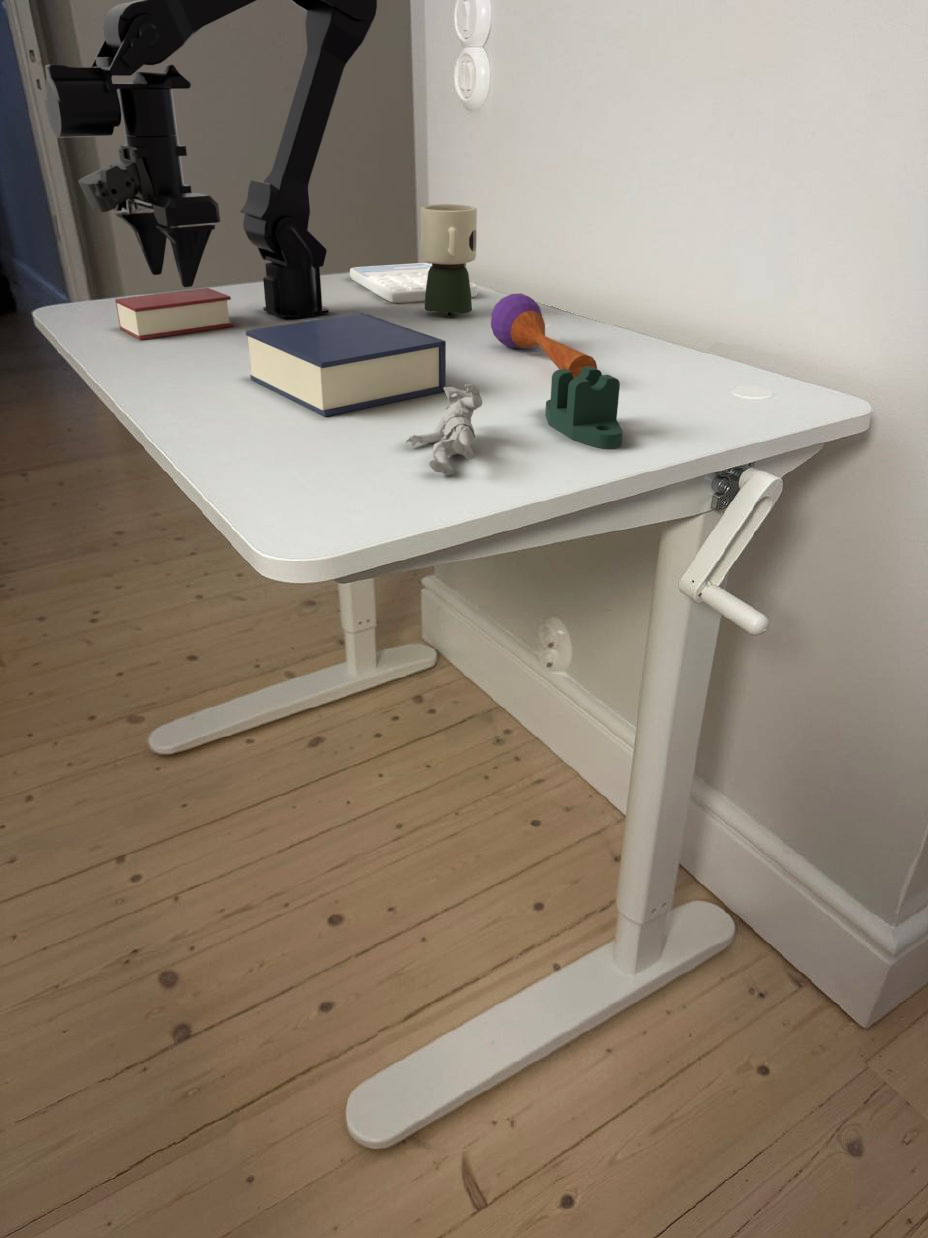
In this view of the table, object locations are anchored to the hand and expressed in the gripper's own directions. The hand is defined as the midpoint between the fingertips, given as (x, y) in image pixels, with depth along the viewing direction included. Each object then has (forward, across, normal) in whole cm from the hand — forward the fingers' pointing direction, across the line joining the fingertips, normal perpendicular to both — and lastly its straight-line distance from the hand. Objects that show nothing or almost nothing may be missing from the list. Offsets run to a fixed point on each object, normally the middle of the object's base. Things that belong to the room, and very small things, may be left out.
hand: (171, 280), depth 115 cm
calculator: (+6, -4, +38) cm, 39 cm away
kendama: (+6, +38, +26) cm, 46 cm away
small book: (+6, 0, 0) cm, 6 cm away
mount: (+6, +57, +14) cm, 59 cm away
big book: (+6, +33, +4) cm, 34 cm away
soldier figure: (+6, +55, +1) cm, 55 cm away
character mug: (+6, +13, +32) cm, 35 cm away
